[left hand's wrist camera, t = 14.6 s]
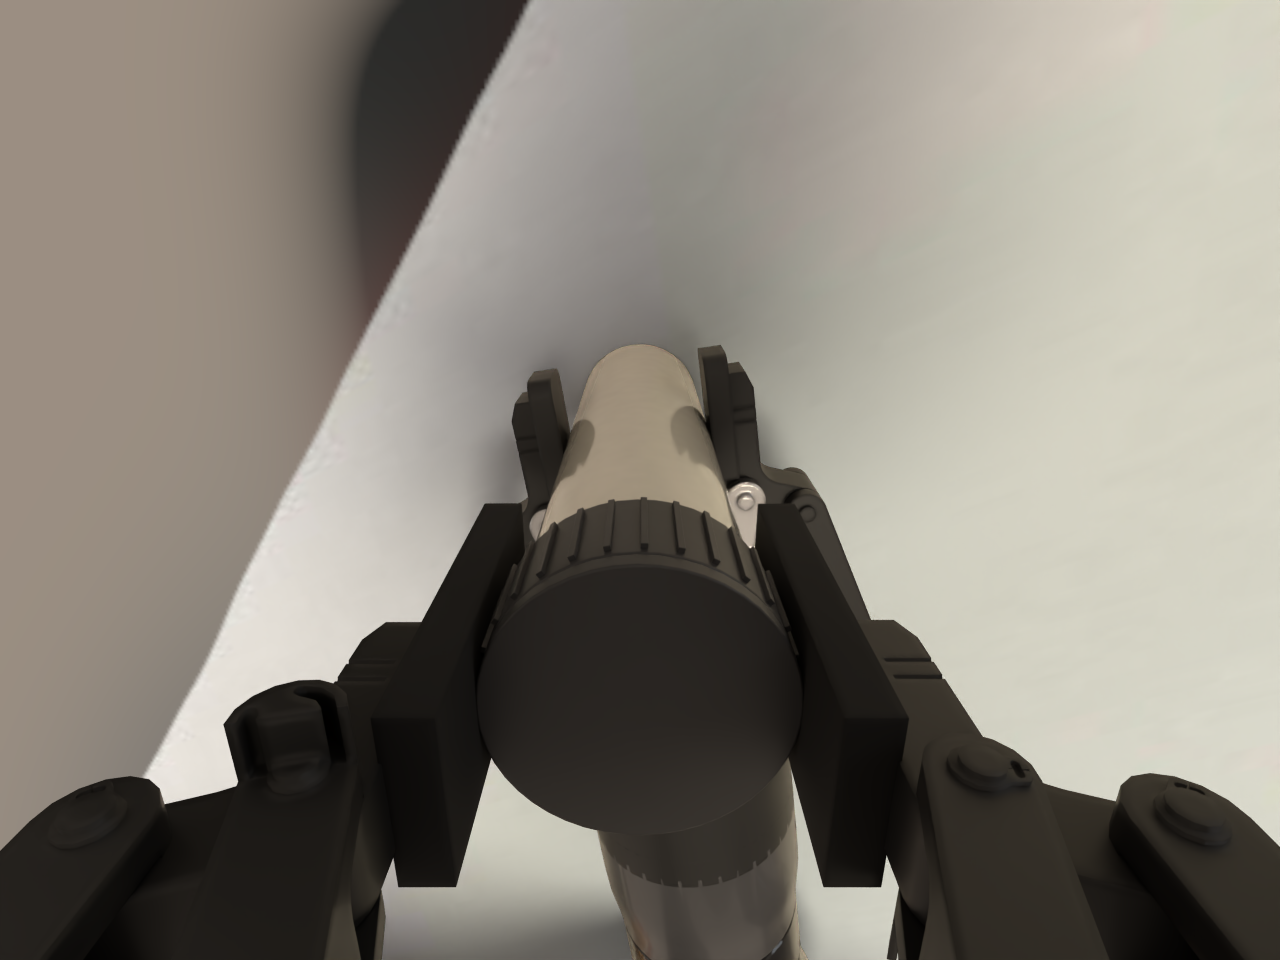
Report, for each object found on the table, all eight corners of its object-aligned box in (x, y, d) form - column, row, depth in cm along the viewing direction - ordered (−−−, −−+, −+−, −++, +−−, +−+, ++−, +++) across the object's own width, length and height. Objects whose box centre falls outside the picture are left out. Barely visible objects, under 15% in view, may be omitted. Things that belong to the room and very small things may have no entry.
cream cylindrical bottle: (597, 331, 27) (524, 534, 10) (708, 359, 27) (823, 600, 10) (573, 438, 28) (474, 775, 11) (679, 463, 29) (735, 825, 12)
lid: (528, 462, 12) (502, 523, 9) (818, 530, 12) (859, 604, 10) (479, 706, 13) (446, 807, 11) (733, 757, 14) (752, 864, 11)
